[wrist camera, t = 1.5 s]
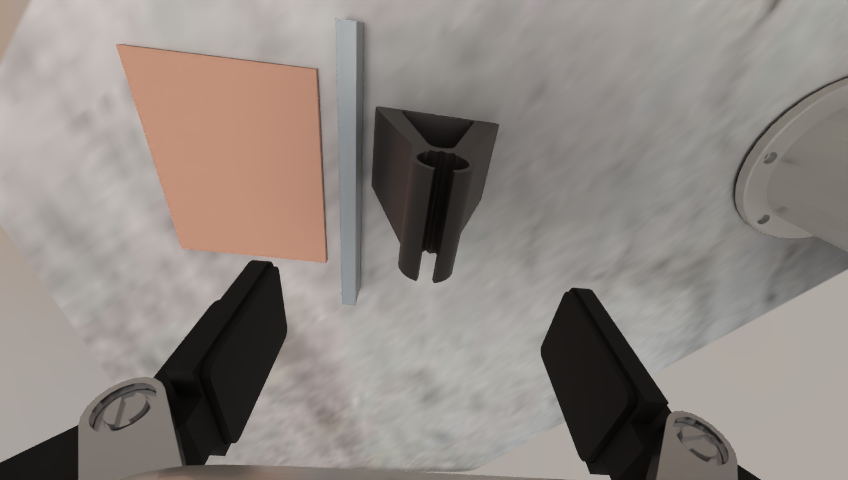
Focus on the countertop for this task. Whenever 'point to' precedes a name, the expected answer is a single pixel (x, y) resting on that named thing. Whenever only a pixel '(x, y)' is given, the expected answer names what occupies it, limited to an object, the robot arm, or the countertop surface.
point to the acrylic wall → (350, 150)
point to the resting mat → (234, 150)
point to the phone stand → (429, 181)
